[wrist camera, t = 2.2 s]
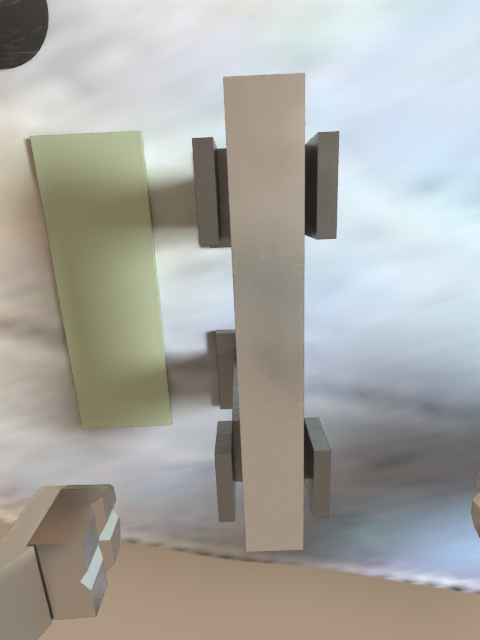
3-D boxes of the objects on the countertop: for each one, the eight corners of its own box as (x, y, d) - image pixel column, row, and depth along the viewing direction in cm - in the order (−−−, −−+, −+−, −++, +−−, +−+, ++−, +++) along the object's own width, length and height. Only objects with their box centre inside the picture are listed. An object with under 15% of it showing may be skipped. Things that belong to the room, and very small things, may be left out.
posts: (298, 147, 29) (359, 85, 14) (298, 401, 34) (341, 540, 20) (204, 151, 29) (169, 95, 14) (220, 404, 35) (207, 545, 20)
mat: (142, 132, 28) (140, 130, 28) (172, 421, 35) (171, 425, 34) (33, 137, 28) (29, 136, 28) (84, 424, 35) (82, 428, 34)
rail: (293, 96, 17) (305, 72, 14) (295, 507, 23) (303, 549, 20) (225, 99, 17) (223, 76, 14) (245, 509, 23) (246, 551, 20)
